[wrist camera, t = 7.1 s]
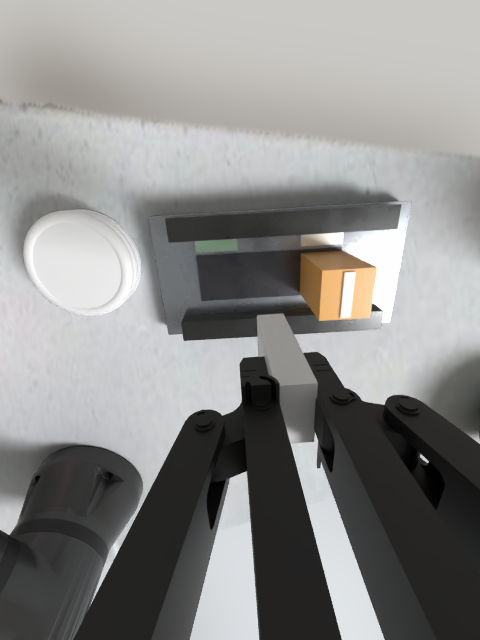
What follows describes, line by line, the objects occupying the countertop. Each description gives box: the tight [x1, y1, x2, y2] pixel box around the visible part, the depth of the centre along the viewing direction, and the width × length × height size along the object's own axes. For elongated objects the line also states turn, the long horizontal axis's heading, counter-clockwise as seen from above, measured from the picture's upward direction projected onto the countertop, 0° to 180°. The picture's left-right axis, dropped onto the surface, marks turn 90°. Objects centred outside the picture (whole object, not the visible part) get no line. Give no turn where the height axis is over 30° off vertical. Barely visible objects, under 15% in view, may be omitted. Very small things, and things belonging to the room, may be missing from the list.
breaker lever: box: [300, 251, 378, 321], centre depth 24 cm, size 4×4×7 cm
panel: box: [148, 201, 412, 341], centre depth 28 cm, size 24×12×4 cm, turn 93°
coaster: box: [23, 209, 141, 316], centre depth 27 cm, size 10×10×4 cm
